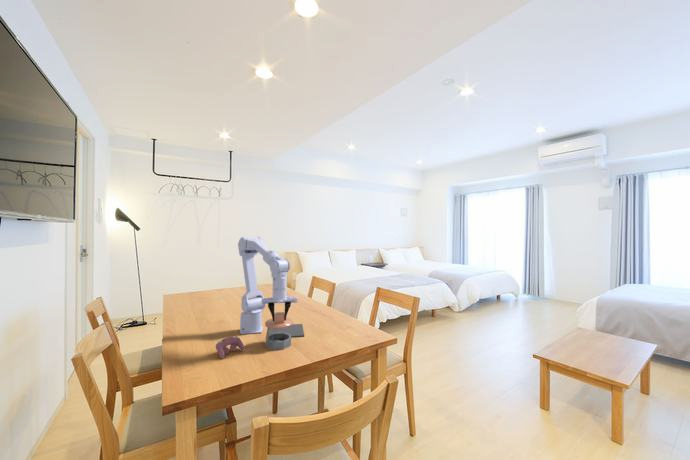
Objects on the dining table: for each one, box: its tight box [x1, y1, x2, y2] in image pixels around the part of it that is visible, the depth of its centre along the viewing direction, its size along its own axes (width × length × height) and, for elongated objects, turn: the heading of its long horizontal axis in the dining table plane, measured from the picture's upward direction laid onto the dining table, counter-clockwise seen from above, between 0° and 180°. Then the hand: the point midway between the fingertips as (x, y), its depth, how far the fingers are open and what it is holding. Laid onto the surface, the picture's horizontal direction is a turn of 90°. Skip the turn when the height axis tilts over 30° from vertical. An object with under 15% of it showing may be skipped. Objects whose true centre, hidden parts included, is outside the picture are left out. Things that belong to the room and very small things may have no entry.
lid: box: [264, 311, 294, 329], centre depth 120 cm, size 12×12×4 cm
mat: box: [267, 323, 305, 338], centre depth 134 cm, size 16×15×1 cm
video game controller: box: [215, 335, 246, 359], centre depth 111 cm, size 10×5×7 cm, turn 141°
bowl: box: [265, 333, 292, 351], centre depth 120 cm, size 10×10×3 cm
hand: (279, 320), depth 121 cm, fingers closed on lid, 4 cm apart
